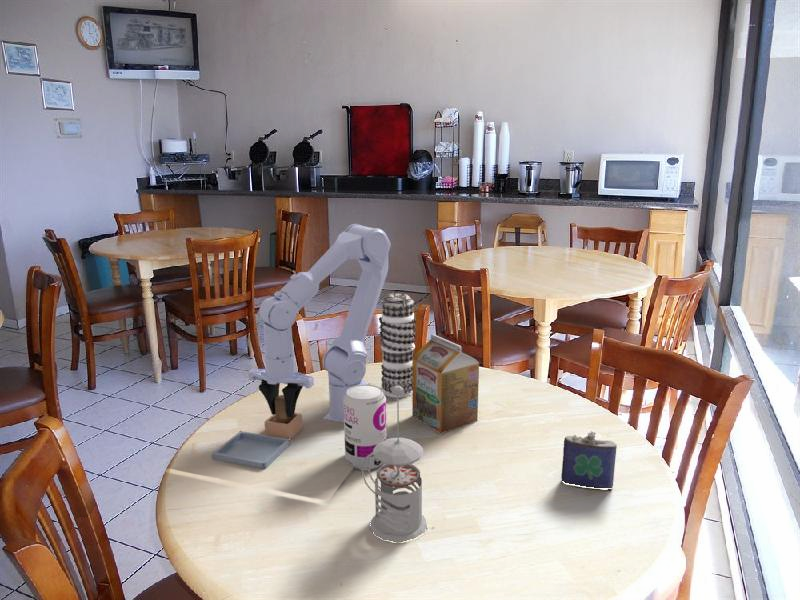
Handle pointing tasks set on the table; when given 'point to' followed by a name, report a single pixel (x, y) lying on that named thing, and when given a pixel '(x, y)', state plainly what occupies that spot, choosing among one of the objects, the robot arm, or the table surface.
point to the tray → (251, 449)
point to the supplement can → (364, 424)
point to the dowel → (281, 410)
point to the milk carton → (444, 385)
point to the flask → (588, 461)
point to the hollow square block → (283, 427)
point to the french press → (397, 487)
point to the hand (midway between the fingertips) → (283, 413)
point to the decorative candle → (397, 343)
